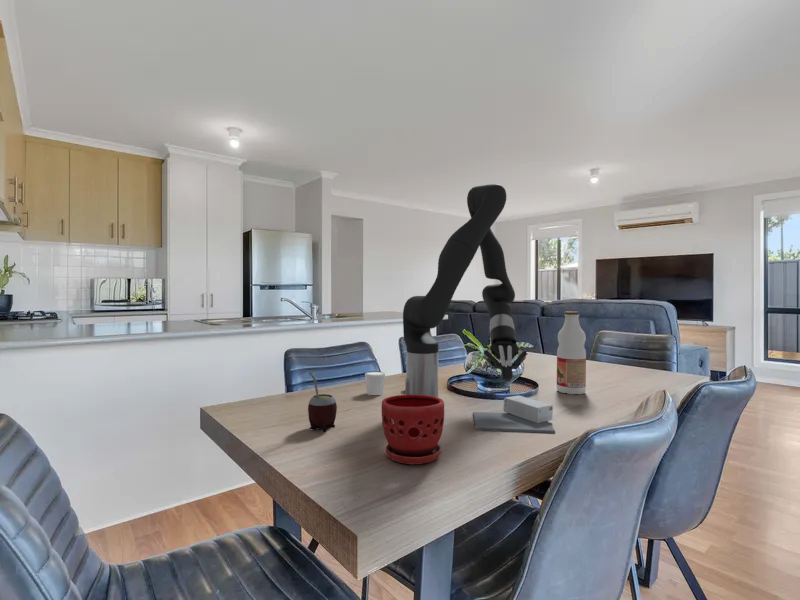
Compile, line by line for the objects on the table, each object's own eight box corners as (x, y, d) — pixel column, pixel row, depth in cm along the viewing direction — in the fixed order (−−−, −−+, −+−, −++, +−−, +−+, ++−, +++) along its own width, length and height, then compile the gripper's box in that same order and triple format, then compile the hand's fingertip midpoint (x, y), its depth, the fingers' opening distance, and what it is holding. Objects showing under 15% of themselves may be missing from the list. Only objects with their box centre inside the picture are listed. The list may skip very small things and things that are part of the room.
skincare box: (503, 412, 121) (536, 425, 110) (503, 396, 120) (537, 408, 110) (518, 409, 124) (552, 421, 113) (519, 393, 123) (553, 405, 113)
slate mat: (476, 429, 107) (476, 427, 107) (473, 414, 121) (473, 411, 121) (554, 433, 105) (554, 430, 105) (542, 416, 119) (542, 414, 119)
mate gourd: (333, 422, 112) (333, 365, 112) (340, 431, 105) (340, 370, 105) (304, 425, 110) (304, 367, 109) (309, 435, 102) (309, 372, 102)
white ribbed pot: (389, 393, 145) (389, 372, 145) (377, 397, 139) (377, 376, 139) (372, 390, 149) (372, 370, 149) (360, 394, 143) (360, 373, 143)
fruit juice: (580, 396, 142) (581, 312, 142) (552, 392, 148) (553, 311, 148) (589, 391, 149) (590, 311, 149) (562, 387, 155) (563, 310, 155)
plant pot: (456, 455, 90) (456, 398, 90) (416, 475, 80) (416, 411, 80) (409, 440, 99) (409, 389, 99) (368, 456, 89) (368, 399, 89)
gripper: (481, 324, 130) (484, 371, 118) (526, 324, 129) (533, 372, 117) (479, 339, 135) (482, 386, 123) (522, 340, 134) (529, 387, 122)
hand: (507, 379), depth 120 cm, fingers closed
